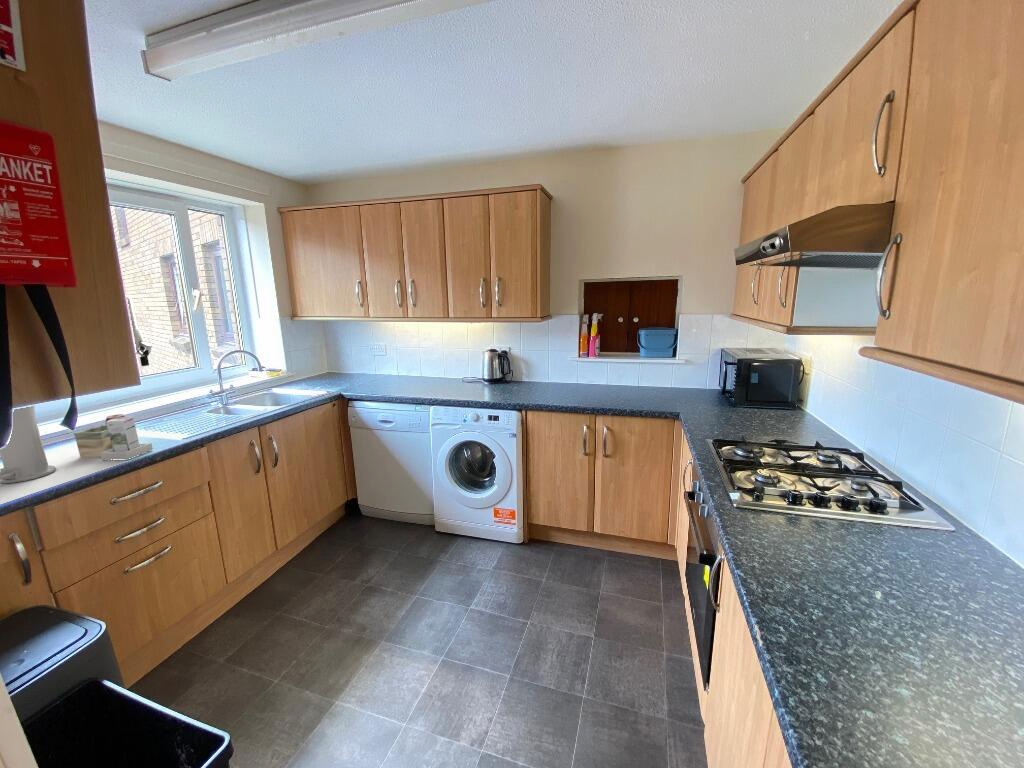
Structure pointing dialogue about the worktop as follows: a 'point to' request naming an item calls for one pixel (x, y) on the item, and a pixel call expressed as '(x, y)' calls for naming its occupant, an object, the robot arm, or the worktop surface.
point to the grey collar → (126, 455)
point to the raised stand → (93, 441)
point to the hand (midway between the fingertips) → (133, 366)
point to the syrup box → (123, 434)
